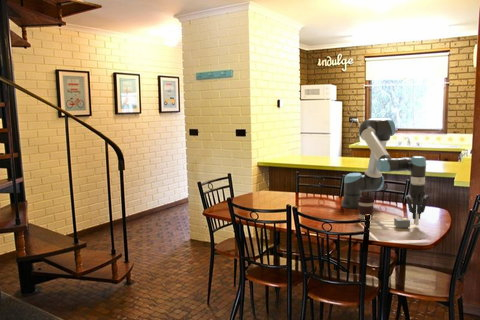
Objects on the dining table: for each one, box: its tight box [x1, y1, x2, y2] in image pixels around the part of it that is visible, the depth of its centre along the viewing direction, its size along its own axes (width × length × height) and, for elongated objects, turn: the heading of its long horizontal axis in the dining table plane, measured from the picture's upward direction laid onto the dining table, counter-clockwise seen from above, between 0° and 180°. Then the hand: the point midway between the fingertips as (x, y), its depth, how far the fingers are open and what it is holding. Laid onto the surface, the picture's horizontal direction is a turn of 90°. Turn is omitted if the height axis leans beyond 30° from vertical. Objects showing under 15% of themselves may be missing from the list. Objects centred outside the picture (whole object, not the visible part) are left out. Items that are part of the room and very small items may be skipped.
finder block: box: [393, 217, 411, 230], centre depth 227 cm, size 5×7×5 cm
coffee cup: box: [358, 195, 375, 220], centre depth 247 cm, size 10×10×15 cm
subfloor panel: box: [360, 219, 420, 231], centre depth 234 cm, size 18×28×2 cm, turn 91°
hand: (416, 224), depth 227 cm, fingers closed
